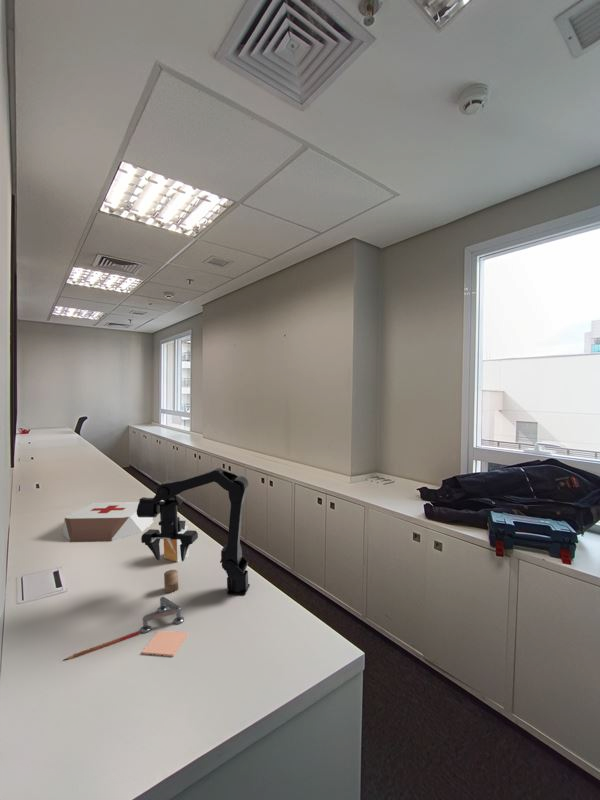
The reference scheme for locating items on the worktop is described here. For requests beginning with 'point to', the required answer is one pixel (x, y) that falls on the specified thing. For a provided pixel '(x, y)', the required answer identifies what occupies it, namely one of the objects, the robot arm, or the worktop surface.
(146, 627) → the dark grey bent piece
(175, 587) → the wooden dowel cylinder
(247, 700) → the worktop surface
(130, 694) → the worktop surface
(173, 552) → the small box
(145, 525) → the first aid kit
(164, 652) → the terracotta mat
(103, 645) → the pencil
